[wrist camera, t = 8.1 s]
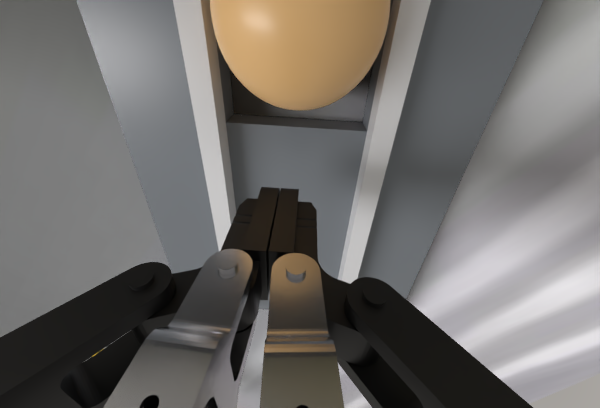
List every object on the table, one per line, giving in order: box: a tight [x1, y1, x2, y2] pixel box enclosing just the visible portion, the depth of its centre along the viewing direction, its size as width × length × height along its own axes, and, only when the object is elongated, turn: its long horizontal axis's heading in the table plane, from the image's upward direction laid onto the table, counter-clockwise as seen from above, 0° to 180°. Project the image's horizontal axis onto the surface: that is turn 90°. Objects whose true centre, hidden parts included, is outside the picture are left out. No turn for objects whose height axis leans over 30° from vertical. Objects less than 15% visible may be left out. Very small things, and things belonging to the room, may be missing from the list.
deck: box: [76, 0, 544, 310], centre depth 14 cm, size 18×26×3 cm
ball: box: [210, 0, 391, 111], centre depth 9 cm, size 6×6×6 cm
